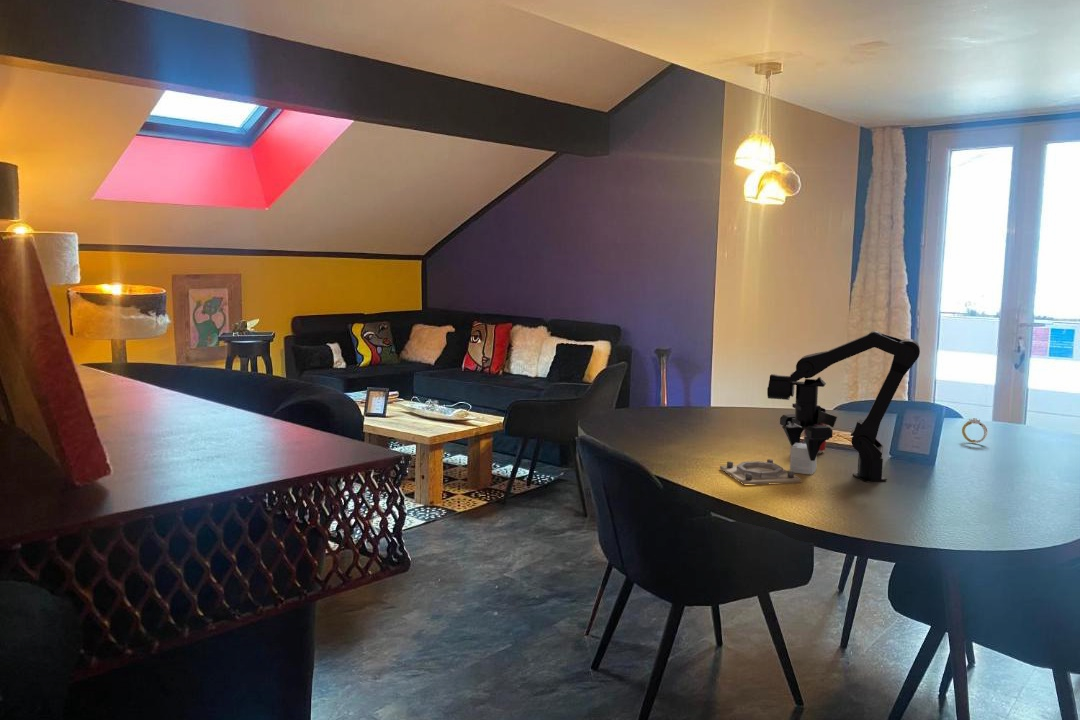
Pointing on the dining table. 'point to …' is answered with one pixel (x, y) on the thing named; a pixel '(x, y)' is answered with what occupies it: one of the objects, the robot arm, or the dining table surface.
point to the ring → (974, 423)
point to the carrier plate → (760, 481)
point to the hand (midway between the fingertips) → (804, 456)
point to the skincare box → (801, 460)
